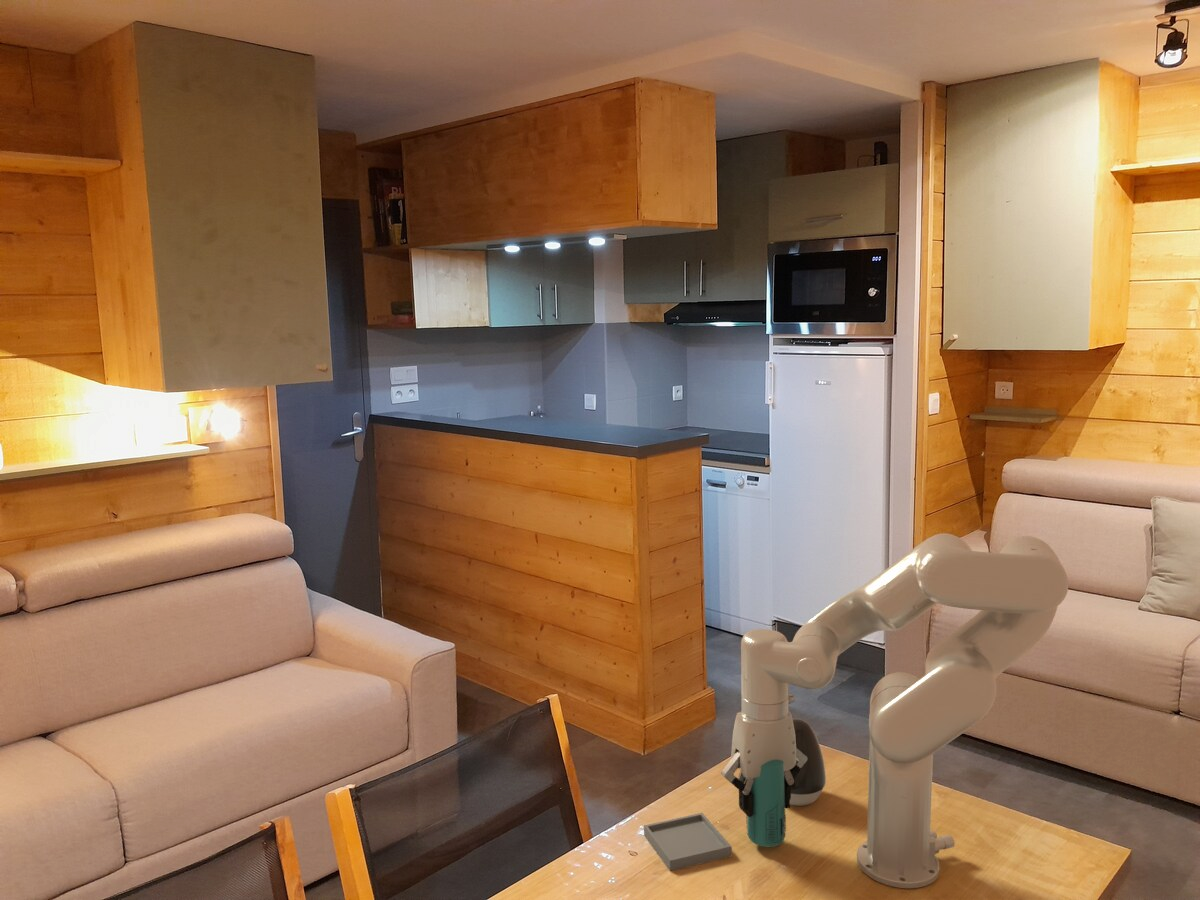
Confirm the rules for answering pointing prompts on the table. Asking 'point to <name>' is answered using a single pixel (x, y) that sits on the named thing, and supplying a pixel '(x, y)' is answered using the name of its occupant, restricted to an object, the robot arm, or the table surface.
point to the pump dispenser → (807, 766)
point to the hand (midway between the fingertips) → (764, 807)
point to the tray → (687, 841)
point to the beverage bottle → (768, 806)
